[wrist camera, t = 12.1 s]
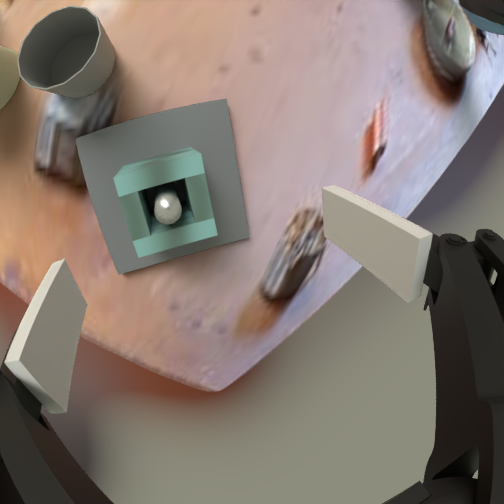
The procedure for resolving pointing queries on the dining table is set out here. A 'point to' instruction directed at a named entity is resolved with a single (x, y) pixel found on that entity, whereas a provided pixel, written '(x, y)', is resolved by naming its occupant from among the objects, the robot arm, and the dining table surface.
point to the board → (161, 142)
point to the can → (8, 74)
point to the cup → (67, 53)
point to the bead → (193, 210)
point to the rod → (167, 203)
